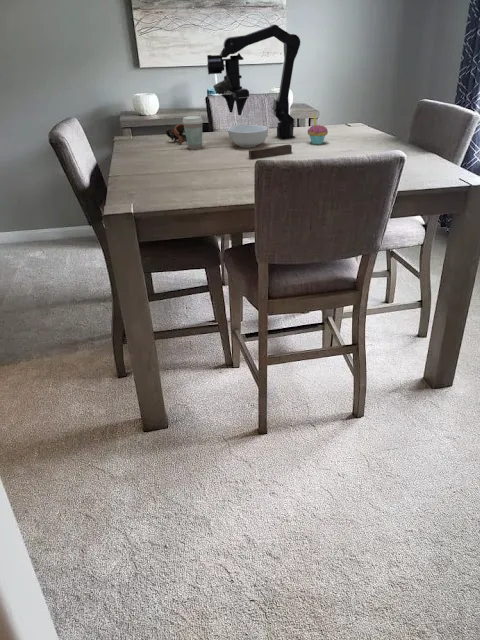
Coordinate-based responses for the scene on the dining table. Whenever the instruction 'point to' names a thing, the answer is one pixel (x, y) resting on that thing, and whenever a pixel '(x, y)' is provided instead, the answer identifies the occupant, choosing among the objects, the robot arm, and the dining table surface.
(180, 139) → the brown irregular piece
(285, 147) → the rail
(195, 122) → the coffee cup
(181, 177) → the dining table surface
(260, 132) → the cereal bowl
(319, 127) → the cupcake
